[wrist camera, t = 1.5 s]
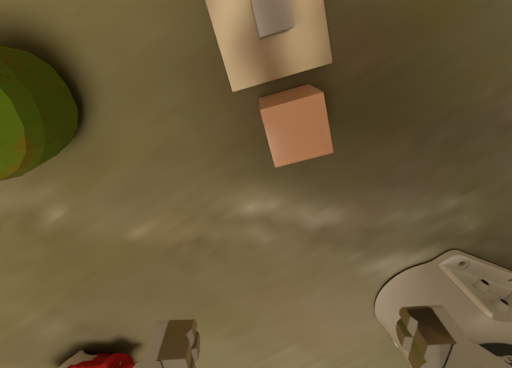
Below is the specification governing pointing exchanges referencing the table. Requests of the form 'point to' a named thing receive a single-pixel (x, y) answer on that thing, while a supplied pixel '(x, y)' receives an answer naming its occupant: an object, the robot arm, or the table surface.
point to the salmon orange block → (296, 124)
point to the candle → (98, 361)
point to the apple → (32, 112)
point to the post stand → (269, 38)
